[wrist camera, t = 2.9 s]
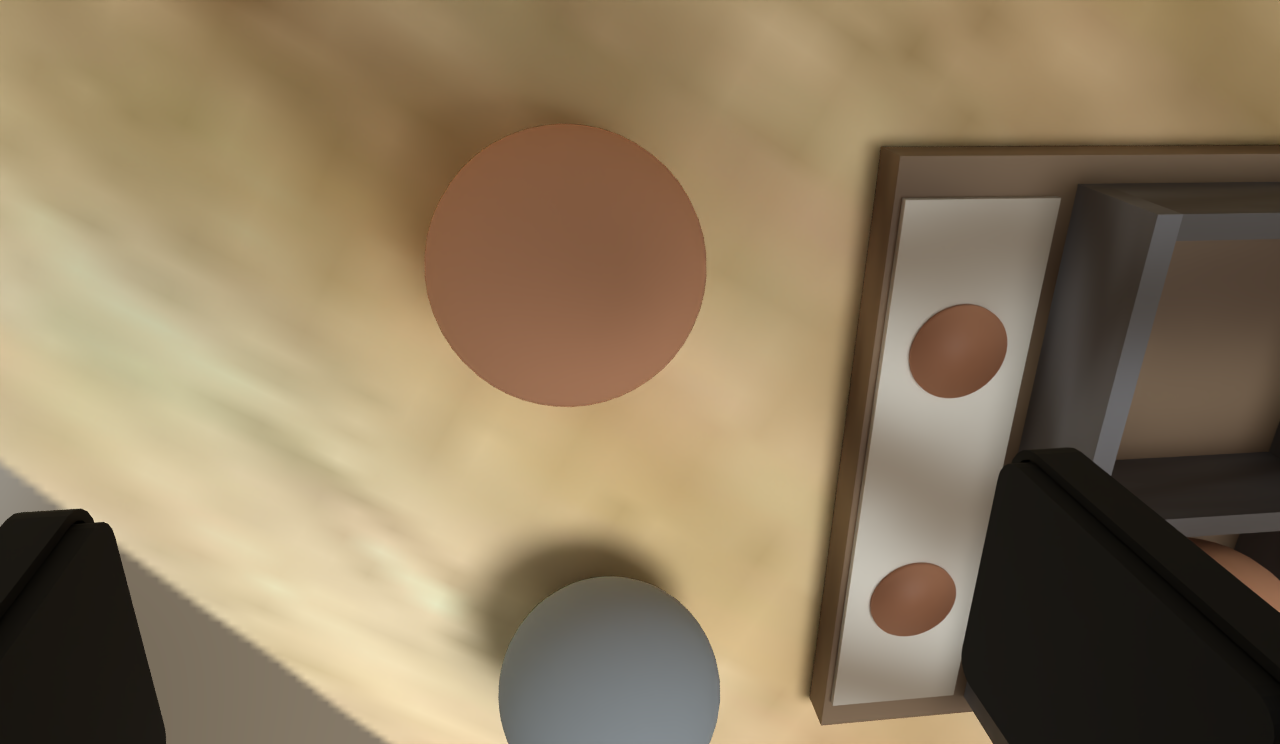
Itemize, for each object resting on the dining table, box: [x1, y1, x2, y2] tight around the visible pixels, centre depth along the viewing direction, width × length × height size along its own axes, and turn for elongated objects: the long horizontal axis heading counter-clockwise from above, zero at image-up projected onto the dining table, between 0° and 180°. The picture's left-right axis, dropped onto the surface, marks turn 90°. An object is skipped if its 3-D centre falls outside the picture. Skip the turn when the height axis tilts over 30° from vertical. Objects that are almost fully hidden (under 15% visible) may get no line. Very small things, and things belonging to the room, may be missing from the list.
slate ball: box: [499, 576, 720, 744], centre depth 24 cm, size 6×6×6 cm
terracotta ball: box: [425, 124, 706, 407], centre depth 19 cm, size 6×6×6 cm
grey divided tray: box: [810, 145, 1280, 744], centre depth 25 cm, size 18×14×4 cm
